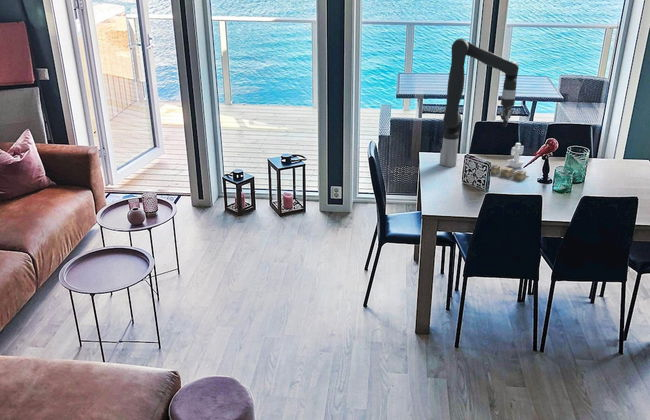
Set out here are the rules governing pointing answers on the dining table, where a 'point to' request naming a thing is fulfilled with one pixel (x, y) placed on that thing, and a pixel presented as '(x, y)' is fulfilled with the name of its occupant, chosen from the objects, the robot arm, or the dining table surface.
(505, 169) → the plain block
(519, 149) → the figurine
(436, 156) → the dining table surface
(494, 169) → the marked block 1
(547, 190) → the dining table surface
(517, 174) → the marked block 2
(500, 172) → the mat
